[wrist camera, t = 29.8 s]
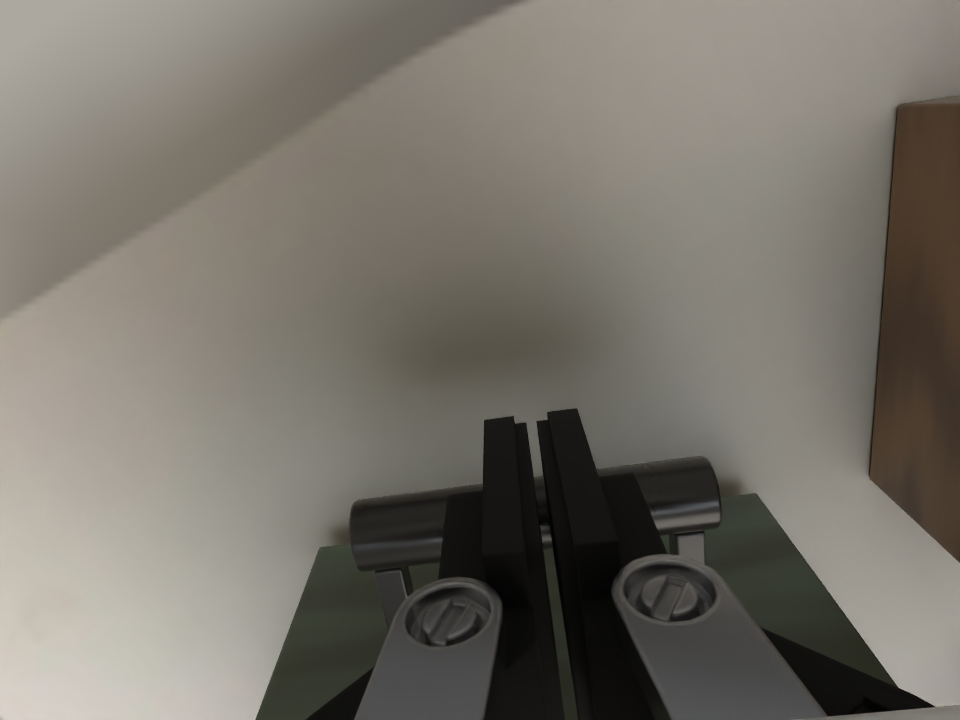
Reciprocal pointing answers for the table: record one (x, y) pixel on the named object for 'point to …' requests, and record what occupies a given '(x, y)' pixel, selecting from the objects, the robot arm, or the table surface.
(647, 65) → the table surface
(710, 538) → the drawer
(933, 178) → the stand
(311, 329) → the table surface
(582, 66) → the table surface
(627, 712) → the robot arm
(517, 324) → the table surface
